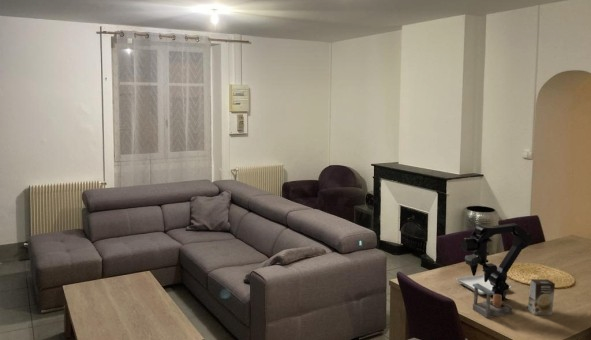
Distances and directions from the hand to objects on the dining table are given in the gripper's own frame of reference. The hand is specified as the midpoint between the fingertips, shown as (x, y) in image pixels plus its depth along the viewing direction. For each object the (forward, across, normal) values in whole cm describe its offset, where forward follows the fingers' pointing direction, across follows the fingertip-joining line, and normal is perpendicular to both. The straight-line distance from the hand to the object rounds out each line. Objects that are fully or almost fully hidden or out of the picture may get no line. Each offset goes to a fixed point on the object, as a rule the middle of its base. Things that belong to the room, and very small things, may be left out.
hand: (479, 278), depth 256 cm
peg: (+12, +13, +1) cm, 18 cm away
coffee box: (+12, +21, +20) cm, 31 cm away
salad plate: (+13, -14, +14) cm, 23 cm away
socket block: (+12, +13, -2) cm, 18 cm away
